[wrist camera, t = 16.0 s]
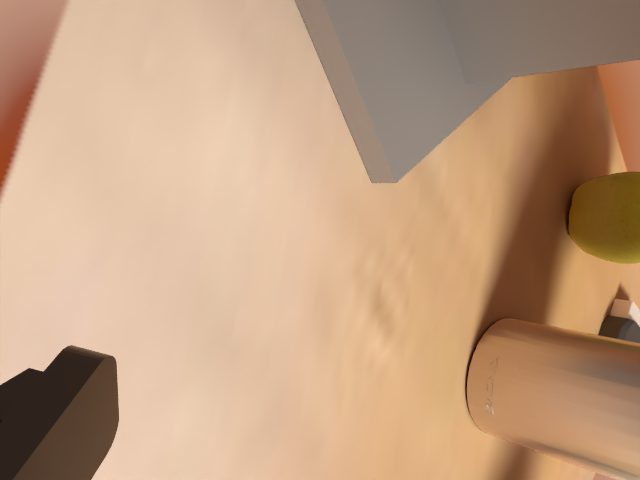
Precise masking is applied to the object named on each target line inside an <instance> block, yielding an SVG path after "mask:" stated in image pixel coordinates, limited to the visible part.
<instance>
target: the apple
mask: <svg viewBox="0 0 640 480" xmlns="http://www.w3.org/2000/svg"><path fill="white" fill-rule="evenodd" d="M568 230H569V234H570V236H571V238H572V239H573V241H574V242H575V243H576V244H577V245H578V246H579V247H580V248H581V249H582V250H583V251H585V252H586V253H588V254H590V255H592V256H595V257H598V258H601V259H604V260H608V261H611V262H616V263H623V264H632V263H640V172H622V173H615V174H611V175H606V176H602V177H597V178H594V179H591V180H589V181H587V182H585V183H583V184H582V185H580V186H579V187H578V188H577V189H576V191H575V192H574V194H573V197H572V205H571V208H570V211H569V228H568Z"/></svg>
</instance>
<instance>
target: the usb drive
mask: <svg viewBox="0 0 640 480" xmlns="http://www.w3.org/2000/svg"><path fill="white" fill-rule="evenodd" d="M639 326H640V310H639V309H638V307H637V306H636V305H635V303H634V302H633V301H629V300H622V299H615V300H614V303H613V306H612V309H611V313H610V315H608V316H607V317H606V319H605V320H604V321H603V323H602V326H601V329H600V332H599V336H604V337H609V338H614V339H620V340H625V341H630V342H635V343H640V327H639Z"/></svg>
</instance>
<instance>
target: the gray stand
mask: <svg viewBox="0 0 640 480" xmlns="http://www.w3.org/2000/svg"><path fill="white" fill-rule="evenodd" d="M295 1H296V3H297V6H298V8H299V11H300V13H301V15H302V18H303V20H304V22H305V25H306V27H307V30H308V32H309V34H310V37H311V39H312V42H313V44H314V46H315V49H316V51H317V53H318V56H319V58H320V61H321V63H322V65H323V68H324V70H325V72H326V75H327V77H328V80H329V82H330V84H331V87H332V89H333V92H334V94H335V96H336V99H337V101H338V103H339V106H340V108H341V111H342V113H343V115H344V118H345V120H346V122H347V125H348V127H349V130H350V132H351V134H352V137H353V139H354V142H355V144H356V146H357V149H358V151H359V153H360V156H361V158H362V161H363V163H364V165H365V168H366V170H367V172H368V175H369V177H370V180H371V182H372V183H397V182H398V181H399V180H400V179H401V178H402V177H403V176H404V175H406V174H407V173H408V172H409V171H410V170H411V169H412V168H413V167H414V166H415V165H416V164H418V163H419V162H420V161H421V160H422V159H423V158H424V157H425V156H426V155H427V154H429V153H430V152H431V151H432V150H433V149H434V148H435V147H436V146H437V145H438V144H440V143H441V142H442V141H443V140H444V139H445V138H446V137H447V136H448V135H449V134H451V133H452V132H453V131H454V130H455V129H456V128H457V127H458V126H459V125H460V124H462V123H463V122H464V121H465V120H466V119H467V118H468V117H469V116H470V115H471V114H473V113H474V112H475V111H476V110H477V109H478V108H479V107H480V106H481V105H482V104H484V103H485V102H486V101H487V100H488V99H489V98H490V97H491V96H492V95H493V94H495V93H496V92H497V91H498V90H499V89H500V88H501V87H502V86H503V85H504V84H506V83H507V82H508V81H509V80H510V79H511V78H512V77H519V76H526V75H533V74H540V73H548V72H555V71H562V70H569V69H576V68H583V67H590V66H598V65H605V64H612V63H619V62H626V61H633V60H640V0H295Z"/></svg>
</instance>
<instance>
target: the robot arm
mask: <svg viewBox="0 0 640 480" xmlns="http://www.w3.org/2000/svg"><path fill="white" fill-rule="evenodd" d="M467 400H468V407H469V411H470V415H471V417H472V419H473V421H474V423H475V424H476V426H477V427H478V428H479V429H480V430H482V431H484V432H485V433H488V434H491V435H493V436H496V437H499V438H502V439H505V440H507V441H510V442H513V443H516V444H518V445H521V446H524V447H527V448H529V449H532V450H534V451H537V452H540V453H543V454H546V455H548V456H551V457H554V458H557V459H560V460H562V461H565V462H568V463H571V464H574V465H576V466H579V467H582V468H585V469H588V470H590V471H593V472H596V473H599V474H602V475H604V476H607V477H610V478H613V479H615V480H640V343H635V342H630V341H625V340H620V339H614V338H609V337H604V336H599V335H594V334H589V333H583V332H578V331H573V330H568V329H563V328H558V327H553V326H548V325H543V324H538V323H532V322H527V321H522V320H517V319H511V318H505V319H502V320H499V321H497V322H496V323H494V324H493V325H492V326H490V328H489V329H488V330H487V331H486V332H485V333H484V335H483V336H482V338H481V340H480V341H479V343H478V345H477V347H476V349H475V352H474V354H473V357H472V361H471V364H470V368H469V373H468V379H467ZM118 421H119V408H118V386H117V365H116V360H115V358H114V357H113V356H110V355H107V354H103V353H99V352H95V351H91V350H87V349H84V348H80V347H76V346H68V347H66V348H64V349H63V350H62V351H61V352H60V353H59V354H58V356H57V357H56V358H55V359H54V360H53V361H52V363H51V364H50V365H49V366H48V367H47V368H46V370H45V371H44V372H42V371H38V370H35V369H31V368H28V369H27V370H25V371H23V372H22V373H20V374H18V375H17V376H15V377H13V378H12V379H10V380H8V381H7V382H5V383H3V384H2V385H0V480H91V479H92V477H93V476H94V474H95V472H96V471H97V469H98V468H99V466H100V464H101V463H102V461H103V460H104V458H105V456H106V455H107V453H108V451H109V449H110V447H111V445H112V443H113V440H114V438H115V434H116V431H117V427H118Z"/></svg>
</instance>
